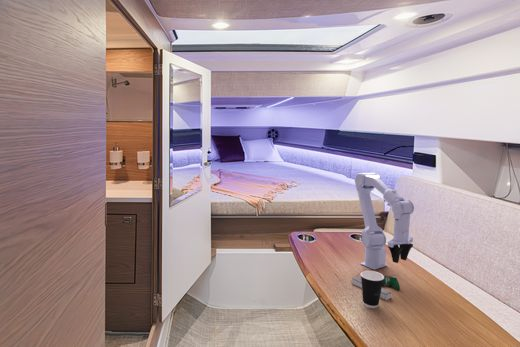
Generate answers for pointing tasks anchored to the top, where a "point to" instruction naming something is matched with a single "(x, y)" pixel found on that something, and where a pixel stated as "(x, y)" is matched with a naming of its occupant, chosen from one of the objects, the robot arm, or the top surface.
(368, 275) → the dixie cup
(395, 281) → the gaming controller
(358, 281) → the bar
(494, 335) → the top surface
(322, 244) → the top surface
